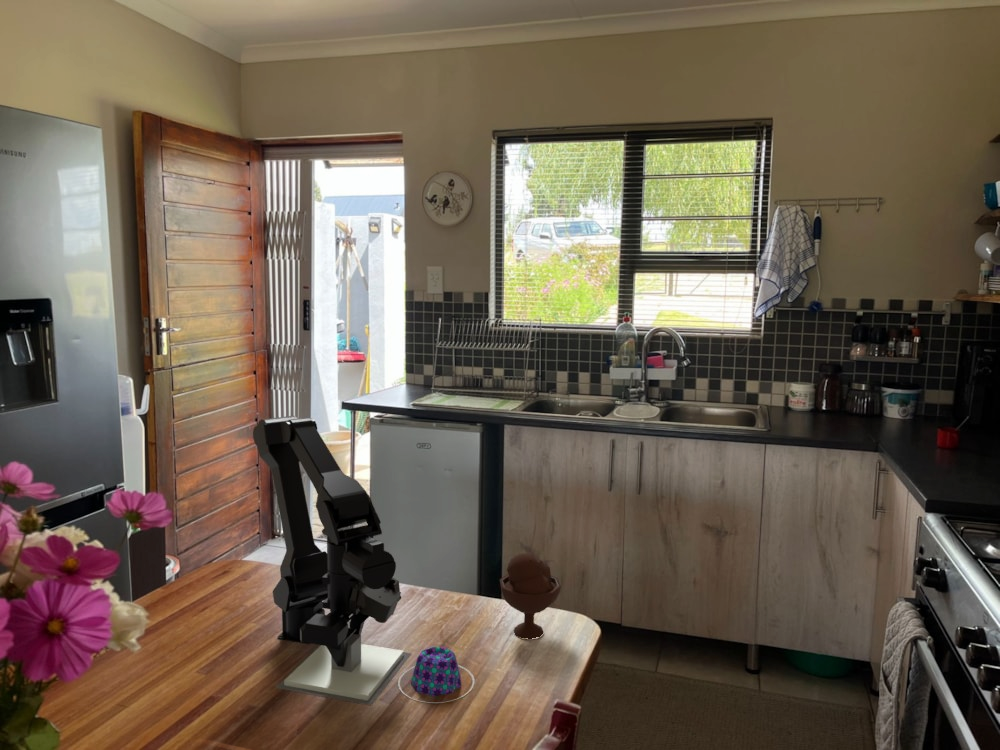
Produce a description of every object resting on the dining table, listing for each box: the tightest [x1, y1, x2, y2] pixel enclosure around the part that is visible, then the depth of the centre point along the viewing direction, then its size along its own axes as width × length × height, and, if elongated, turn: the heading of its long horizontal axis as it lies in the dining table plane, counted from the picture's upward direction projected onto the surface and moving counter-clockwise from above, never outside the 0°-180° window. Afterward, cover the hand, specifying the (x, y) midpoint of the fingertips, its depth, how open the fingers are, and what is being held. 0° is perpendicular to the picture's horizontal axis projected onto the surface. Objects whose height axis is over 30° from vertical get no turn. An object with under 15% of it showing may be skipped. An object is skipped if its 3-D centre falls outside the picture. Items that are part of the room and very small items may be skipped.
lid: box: [283, 634, 405, 700], centre depth 121 cm, size 14×14×5 cm
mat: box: [274, 645, 412, 706], centre depth 121 cm, size 16×16×1 cm
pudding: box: [397, 646, 476, 704], centre depth 118 cm, size 12×12×5 cm
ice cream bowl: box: [499, 552, 562, 639], centre depth 135 cm, size 11×11×15 cm
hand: (346, 660), depth 121 cm, fingers closed on lid, 3 cm apart
